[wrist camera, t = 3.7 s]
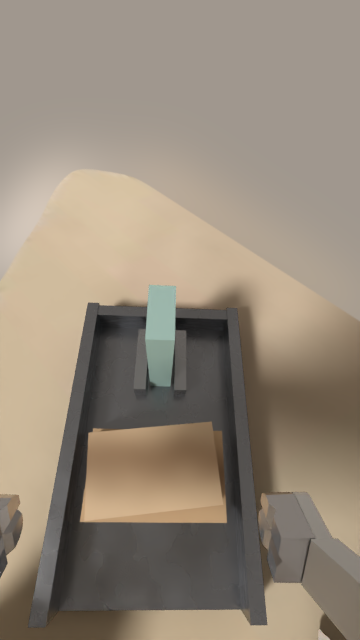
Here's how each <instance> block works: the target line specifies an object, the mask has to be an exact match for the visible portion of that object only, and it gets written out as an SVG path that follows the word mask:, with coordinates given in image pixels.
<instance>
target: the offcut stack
mask: <svg viewBox="0 0 360 640" xmlns="http://www.w3.org/2000/svg"><path fill="white" fill-rule="evenodd" d="M80 522H146V523H227V515H226V496H225V478H224V460H223V441H222V431H213V427H212V422H201V423H190V424H179V425H168V426H157V427H145V428H134V429H96V428H93V432H90V433H88V453H87V474H86V483H85V490H84V497H83V504H82V511H81V518H80Z"/></svg>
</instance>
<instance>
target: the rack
mask: <svg viewBox="0 0 360 640" xmlns="http://www.w3.org/2000/svg"><path fill="white" fill-rule="evenodd" d="M146 321H147V307H127V306H100V305H99V303H88V306H87V311H86V316H85V322H84V327H83V333H82V338H81V343H80V349H79V354H78V360H77V365H76V370H75V376H74V381H73V386H72V392H71V397H70V403H69V408H68V413H67V419H66V424H65V430H64V435H63V440H62V446H61V451H60V456H59V462H58V467H57V473H56V478H55V483H54V489H53V494H52V500H51V505H50V510H49V516H48V521H47V527H46V532H45V537H44V543H43V548H42V553H41V559H40V564H39V570H38V575H37V580H36V586H35V591H34V597H33V602H32V607H31V613H30V618H29V623H28V627H46V626H47V625H48V623H49V622H50V621H51V620H52V618H53V617H54V616H55V615H56V613H57V612H58V611H96V610H225V609H241V610H242V612H243V614H244V615H245V617H246V618H247V620H248V622H249V623H250V625H267V617H266V606H265V596H264V585H263V575H262V564H261V554H260V543H259V533H258V522H257V512H256V501H255V491H254V480H253V470H252V459H251V449H250V438H249V428H248V417H247V407H246V396H245V386H244V375H243V365H242V354H241V344H240V333H239V323H238V312H237V308H226V310H208V309H181V308H176V309H175V344H174V354H173V365H172V375H171V385H170V387H169V386H150V378H149V369H148V360H147V352H146V343H145V334H146ZM201 422H212V427H213V431H222V441H223V460H224V478H225V496H226V515H227V523H146V522H80V518H81V511H82V504H83V497H84V490H85V483H86V474H87V453H88V433H90V432H93V428H96V429H134V428H145V427H157V426H168V425H179V424H190V423H201Z"/></svg>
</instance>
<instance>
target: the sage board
mask: <svg viewBox="0 0 360 640" xmlns="http://www.w3.org/2000/svg"><path fill="white" fill-rule="evenodd" d="M175 309H176V286H160V285H149V293H148V307H147V321H146V334H145V343H146V352H147V360H148V369H149V378H150V386H169V387H170V385H171V375H172V365H173V354H174V344H175Z"/></svg>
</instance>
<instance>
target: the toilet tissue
mask: <svg viewBox="0 0 360 640" xmlns="http://www.w3.org/2000/svg"><path fill="white" fill-rule="evenodd" d="M318 640H330V639H329V638H328V637H327V636H326V635H325V634H323V632H322V631H321V630H320V629H319V636H318Z"/></svg>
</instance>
